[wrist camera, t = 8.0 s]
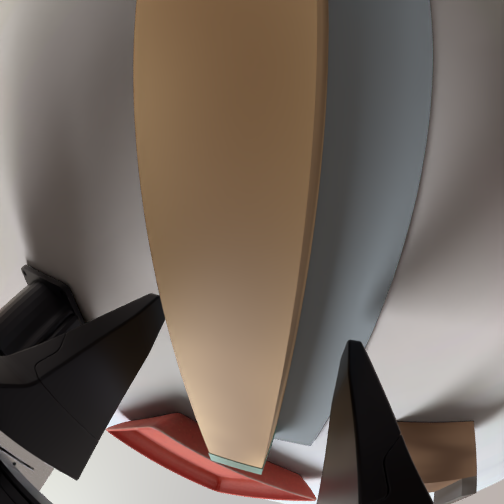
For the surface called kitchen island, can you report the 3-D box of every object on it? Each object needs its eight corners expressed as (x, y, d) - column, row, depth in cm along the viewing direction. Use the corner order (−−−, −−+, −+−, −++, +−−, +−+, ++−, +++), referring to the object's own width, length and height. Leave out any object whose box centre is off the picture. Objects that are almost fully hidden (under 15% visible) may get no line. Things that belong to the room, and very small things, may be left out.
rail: (228, 421, 16) (211, 460, 13) (212, -40, 4) (147, -83, 2) (275, 433, 15) (261, 474, 12) (328, -48, 3) (311, -115, 1)
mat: (199, 411, 17) (197, 415, 17) (154, -37, 5) (146, -41, 4) (312, 440, 15) (310, 445, 15) (417, -47, 3) (420, -53, 2)
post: (375, 440, 13) (364, 512, 9) (394, 421, 12) (386, 505, 7) (449, 440, 12) (447, 504, 8) (473, 420, 10) (476, 492, 6)
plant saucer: (326, 475, 20) (319, 503, 17) (225, 475, 30) (217, 493, 27) (173, 391, 18) (152, 427, 15) (116, 410, 28) (104, 429, 25)
